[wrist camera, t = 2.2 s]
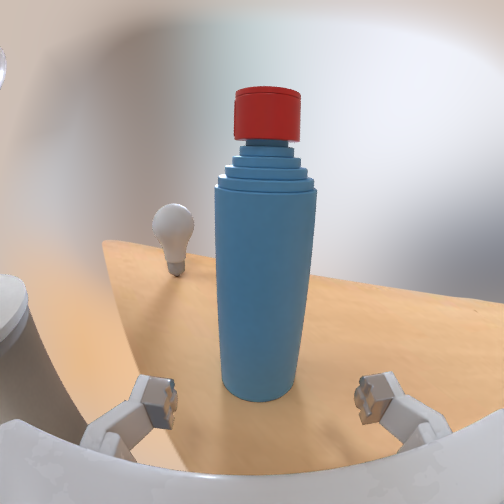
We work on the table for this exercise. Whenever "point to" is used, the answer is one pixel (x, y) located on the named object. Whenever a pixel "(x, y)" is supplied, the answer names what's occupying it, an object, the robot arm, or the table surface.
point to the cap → (267, 114)
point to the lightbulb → (173, 234)
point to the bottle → (262, 267)
